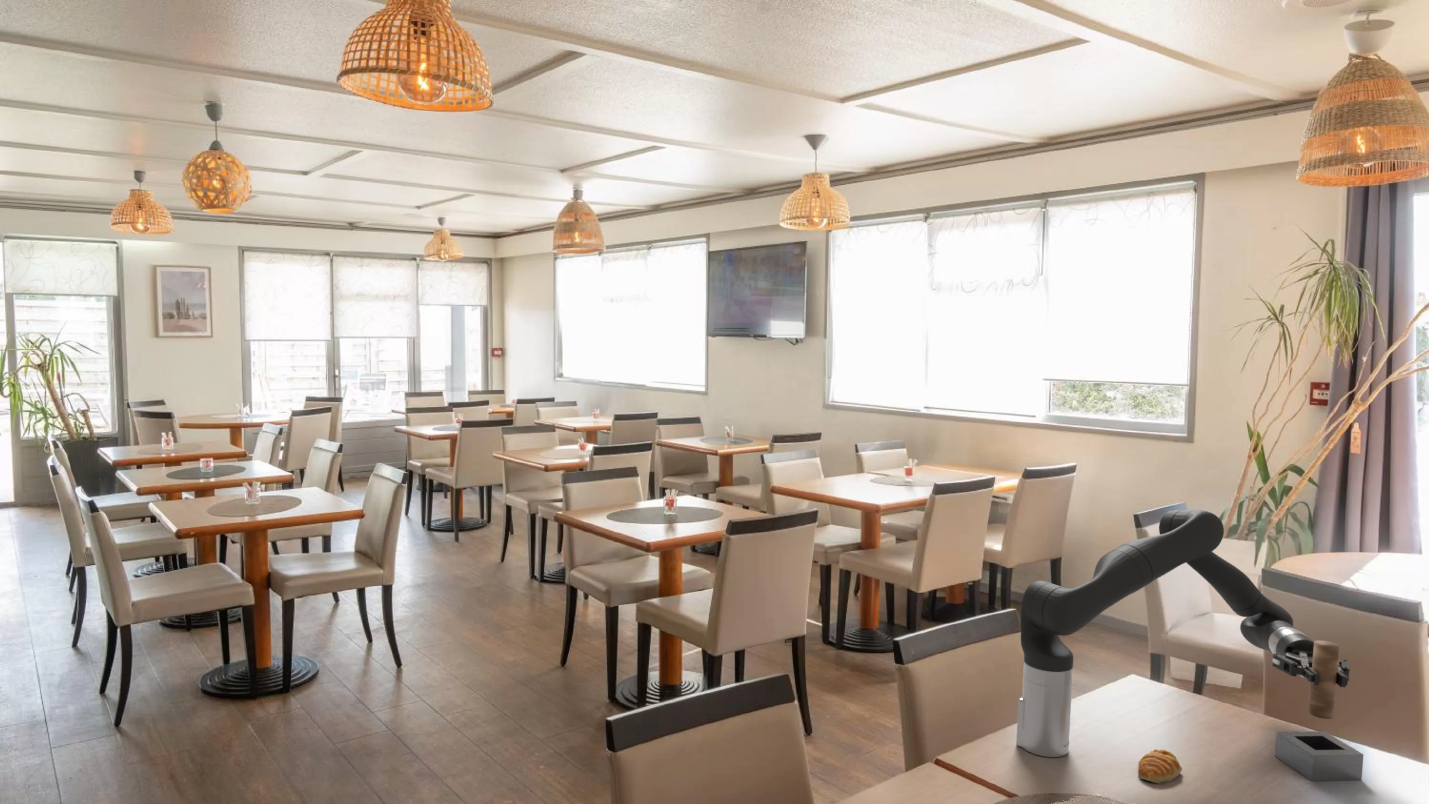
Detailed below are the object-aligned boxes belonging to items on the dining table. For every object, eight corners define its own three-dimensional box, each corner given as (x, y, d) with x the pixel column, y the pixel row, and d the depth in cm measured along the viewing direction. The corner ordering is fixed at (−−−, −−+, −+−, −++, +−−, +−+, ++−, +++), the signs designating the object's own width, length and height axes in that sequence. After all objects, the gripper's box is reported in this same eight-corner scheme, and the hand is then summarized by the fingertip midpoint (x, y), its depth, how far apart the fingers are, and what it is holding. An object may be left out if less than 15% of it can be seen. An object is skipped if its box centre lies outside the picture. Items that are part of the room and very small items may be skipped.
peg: (1307, 714, 177) (1313, 644, 176) (1309, 708, 180) (1315, 638, 179) (1332, 720, 175) (1338, 649, 173) (1334, 713, 178) (1339, 643, 176)
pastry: (1166, 790, 168) (1167, 770, 168) (1128, 777, 173) (1129, 758, 173) (1183, 773, 175) (1184, 754, 175) (1146, 761, 180) (1147, 742, 179)
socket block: (1311, 780, 173) (1313, 755, 172) (1275, 756, 183) (1276, 731, 182) (1361, 779, 173) (1363, 754, 173) (1322, 755, 183) (1324, 731, 183)
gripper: (1258, 629, 192) (1290, 658, 175) (1334, 635, 189) (1374, 665, 172) (1255, 664, 192) (1287, 696, 176) (1332, 671, 189) (1371, 704, 173)
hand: (1330, 680), depth 174 cm, fingers closed on peg, 4 cm apart
